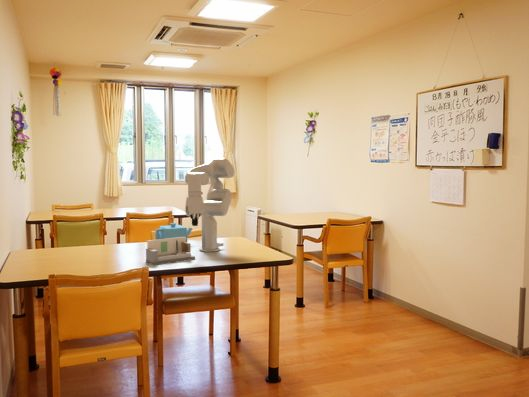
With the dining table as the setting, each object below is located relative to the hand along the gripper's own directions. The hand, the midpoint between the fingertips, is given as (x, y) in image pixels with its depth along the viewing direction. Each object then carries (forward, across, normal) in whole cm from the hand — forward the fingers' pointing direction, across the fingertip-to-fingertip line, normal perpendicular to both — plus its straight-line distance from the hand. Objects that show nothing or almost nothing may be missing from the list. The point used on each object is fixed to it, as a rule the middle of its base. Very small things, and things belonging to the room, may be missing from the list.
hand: (194, 225), depth 292 cm
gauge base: (+19, +15, -2) cm, 24 cm away
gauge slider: (+17, +8, -1) cm, 19 cm away
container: (+19, -9, -43) cm, 48 cm away
